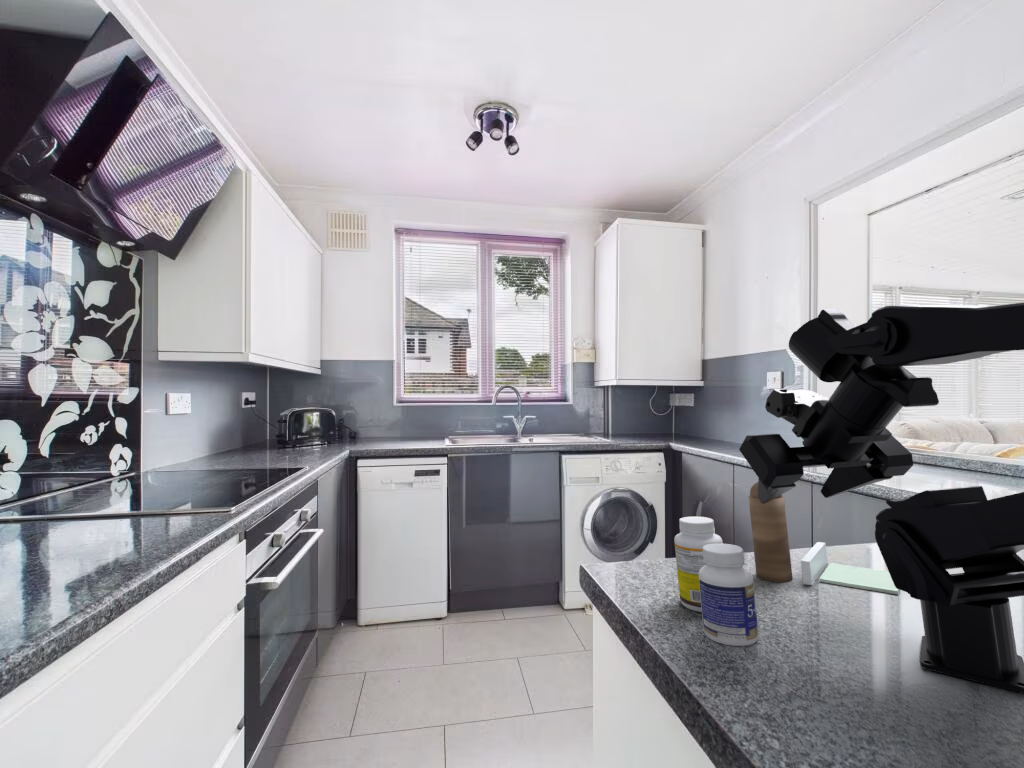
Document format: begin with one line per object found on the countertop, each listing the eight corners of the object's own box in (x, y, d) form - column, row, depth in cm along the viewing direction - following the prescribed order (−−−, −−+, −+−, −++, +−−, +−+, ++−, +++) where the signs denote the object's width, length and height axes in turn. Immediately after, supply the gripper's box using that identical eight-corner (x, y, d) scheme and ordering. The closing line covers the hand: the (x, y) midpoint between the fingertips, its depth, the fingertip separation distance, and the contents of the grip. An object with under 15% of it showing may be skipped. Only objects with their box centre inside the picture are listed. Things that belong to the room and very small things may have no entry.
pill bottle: (763, 650, 44) (754, 556, 45) (705, 644, 46) (697, 554, 47) (754, 626, 49) (745, 542, 50) (701, 622, 51) (694, 540, 52)
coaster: (898, 594, 55) (897, 591, 55) (819, 581, 61) (819, 578, 61) (902, 576, 61) (901, 573, 61) (830, 565, 66) (830, 563, 66)
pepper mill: (788, 584, 60) (777, 483, 61) (752, 578, 63) (742, 482, 64) (796, 575, 64) (785, 479, 65) (761, 569, 67) (752, 478, 68)
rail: (812, 585, 60) (809, 561, 60) (803, 583, 60) (800, 560, 60) (827, 563, 67) (825, 542, 68) (819, 562, 68) (817, 541, 68)
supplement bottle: (708, 594, 59) (701, 513, 60) (740, 610, 53) (731, 521, 54) (670, 600, 57) (663, 517, 58) (698, 618, 52) (690, 526, 53)
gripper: (877, 362, 57) (815, 447, 67) (741, 367, 54) (698, 455, 64) (955, 425, 49) (872, 511, 58) (799, 435, 46) (739, 524, 56)
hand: (792, 497), depth 59 cm, fingers open, 9 cm apart
